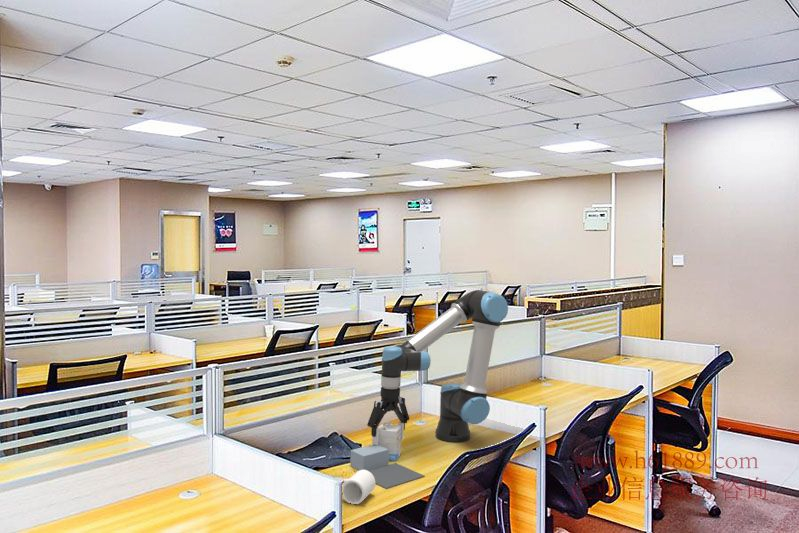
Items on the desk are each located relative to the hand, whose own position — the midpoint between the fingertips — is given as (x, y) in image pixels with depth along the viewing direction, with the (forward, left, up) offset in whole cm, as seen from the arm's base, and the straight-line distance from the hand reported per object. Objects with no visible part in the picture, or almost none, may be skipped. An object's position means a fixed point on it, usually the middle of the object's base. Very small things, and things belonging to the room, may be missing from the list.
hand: (387, 441), depth 243 cm
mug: (+33, +22, -6) cm, 40 cm away
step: (+11, +3, -6) cm, 13 cm away
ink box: (0, 0, -6) cm, 6 cm away
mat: (+11, +16, -6) cm, 20 cm away
